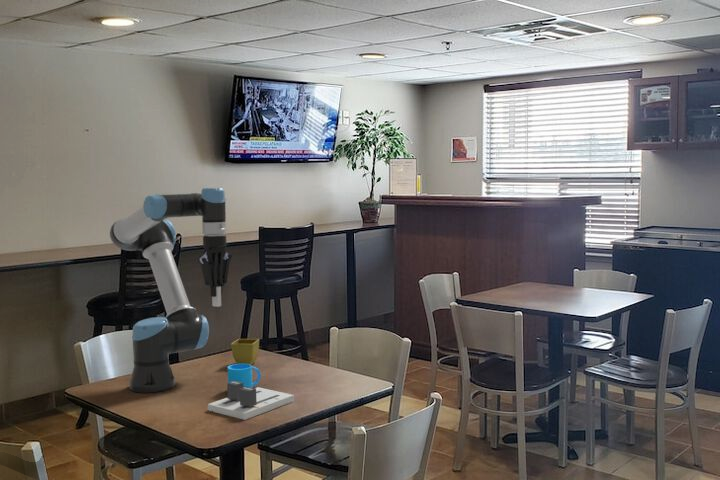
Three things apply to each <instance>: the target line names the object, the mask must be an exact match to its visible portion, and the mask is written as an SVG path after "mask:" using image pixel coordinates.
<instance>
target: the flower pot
mask: <svg viewBox="0 0 720 480" xmlns="http://www.w3.org/2000/svg"><path fill="white" fill-rule="evenodd" d="M230 347H231V350H232V351H231V352H232V357H233V359H234V361H235V364H250V365H252V366H253V364H254V363H255V362H256V361H257V358H258V355H259V349H260V339H259V338H238V339H236V340H235V341H233V342H231V343H230Z"/></svg>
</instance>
